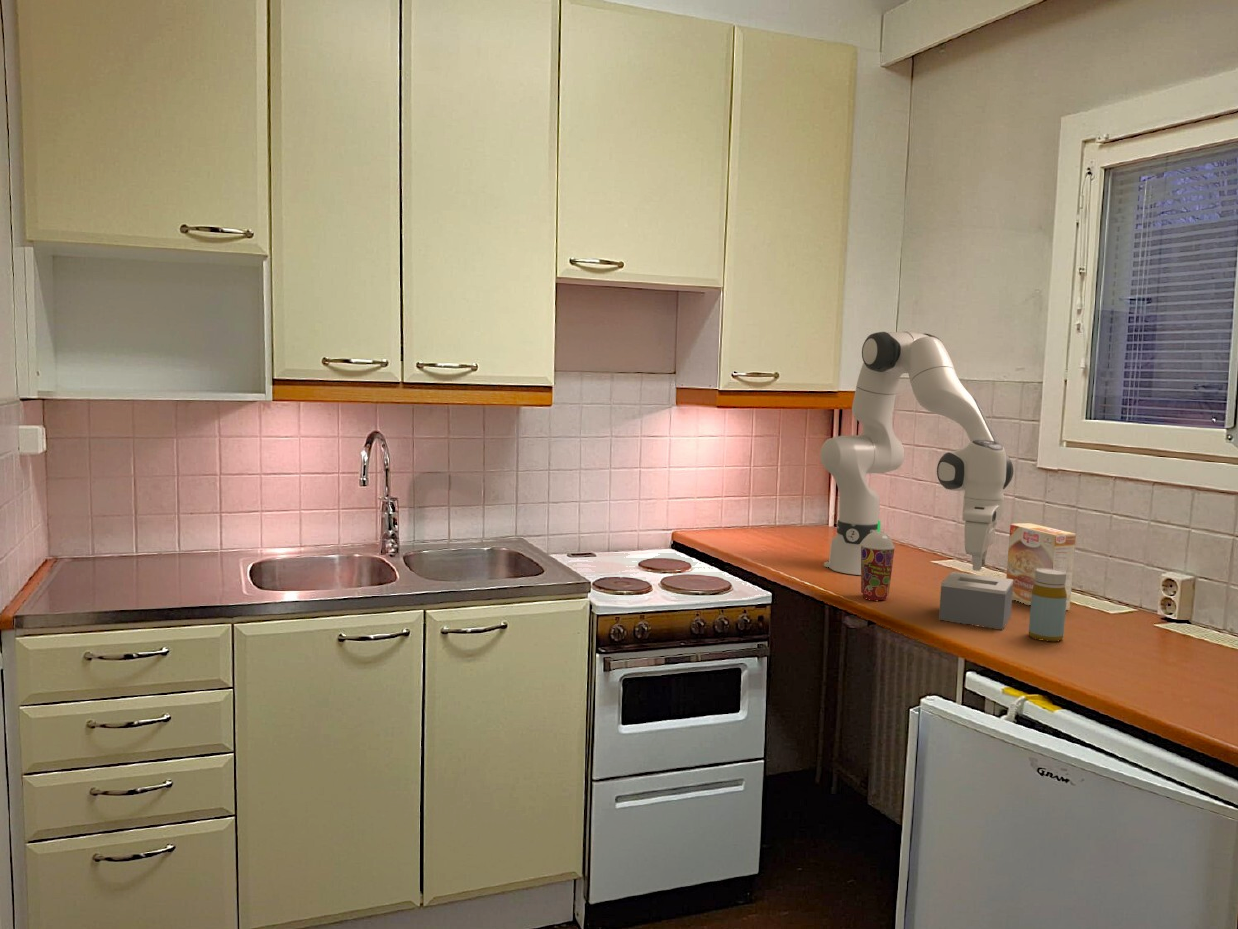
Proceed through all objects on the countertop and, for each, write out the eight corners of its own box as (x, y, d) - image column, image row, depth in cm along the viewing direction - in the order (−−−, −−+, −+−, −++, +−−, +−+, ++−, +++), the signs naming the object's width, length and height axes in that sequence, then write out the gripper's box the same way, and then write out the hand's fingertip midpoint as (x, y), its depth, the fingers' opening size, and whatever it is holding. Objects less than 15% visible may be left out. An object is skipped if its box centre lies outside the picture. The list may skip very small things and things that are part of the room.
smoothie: (868, 603, 236) (873, 523, 234) (851, 595, 244) (856, 518, 241) (898, 601, 238) (903, 523, 236) (880, 593, 246) (885, 517, 244)
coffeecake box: (1003, 597, 246) (1009, 523, 243) (1024, 596, 248) (1030, 522, 246) (1048, 612, 232) (1054, 534, 230) (1070, 610, 234) (1077, 532, 232)
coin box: (949, 607, 234) (952, 571, 233) (1010, 616, 227) (1013, 579, 226) (938, 620, 222) (941, 582, 221) (1002, 630, 215) (1005, 591, 214)
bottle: (1033, 631, 215) (1038, 566, 213) (1066, 637, 210) (1072, 571, 209) (1024, 637, 209) (1029, 571, 208) (1058, 644, 205) (1063, 576, 203)
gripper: (975, 503, 232) (971, 558, 234) (961, 514, 214) (957, 574, 216) (1003, 505, 229) (999, 562, 231) (990, 517, 211) (986, 577, 213)
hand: (978, 568), depth 223 cm, fingers open, 4 cm apart
